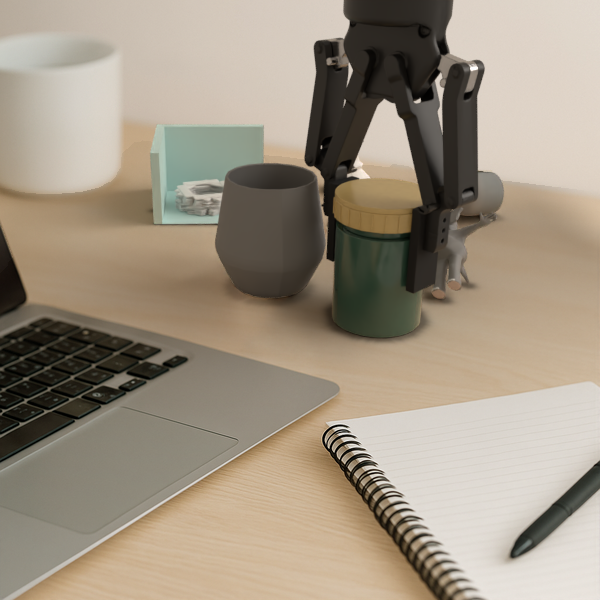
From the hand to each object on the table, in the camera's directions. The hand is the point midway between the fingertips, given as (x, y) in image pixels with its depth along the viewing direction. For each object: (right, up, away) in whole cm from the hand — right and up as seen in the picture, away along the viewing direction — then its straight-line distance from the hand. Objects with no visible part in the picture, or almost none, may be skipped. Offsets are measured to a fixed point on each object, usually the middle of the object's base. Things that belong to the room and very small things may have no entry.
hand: (379, 270), depth 66 cm
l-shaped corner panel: (-16, +8, +26) cm, 32 cm away
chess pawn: (-1, +10, +32) cm, 33 cm away
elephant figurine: (+7, -1, +9) cm, 11 cm away
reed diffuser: (+6, +6, +22) cm, 23 cm away
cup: (-9, -1, +7) cm, 11 cm away
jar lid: (0, +5, -3) cm, 6 cm away
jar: (0, -4, +2) cm, 4 cm away
